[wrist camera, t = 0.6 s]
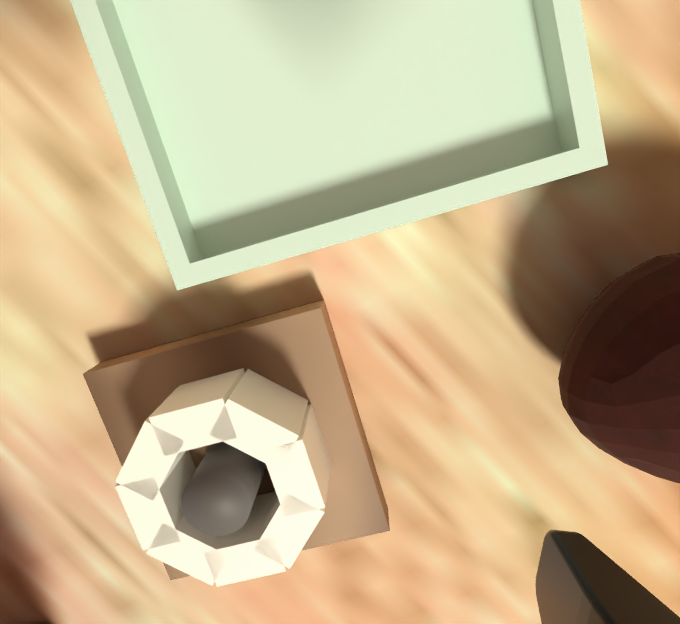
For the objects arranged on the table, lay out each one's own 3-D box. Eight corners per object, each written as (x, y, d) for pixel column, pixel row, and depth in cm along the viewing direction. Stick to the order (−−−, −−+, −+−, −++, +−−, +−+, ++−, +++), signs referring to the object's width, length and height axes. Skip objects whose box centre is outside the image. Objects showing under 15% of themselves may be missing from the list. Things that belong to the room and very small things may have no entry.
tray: (196, 280, 21) (177, 290, 18) (42, -148, 17) (-3, -196, 15) (580, 168, 19) (608, 164, 17) (489, -330, 16) (508, -412, 14)
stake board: (182, 556, 24) (135, 649, 19) (101, 361, 22) (25, 410, 17) (387, 508, 23) (394, 595, 18) (323, 299, 21) (311, 332, 16)
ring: (190, 544, 22) (163, 598, 19) (130, 398, 20) (91, 432, 17) (345, 508, 21) (342, 558, 18) (295, 354, 20) (283, 382, 17)
